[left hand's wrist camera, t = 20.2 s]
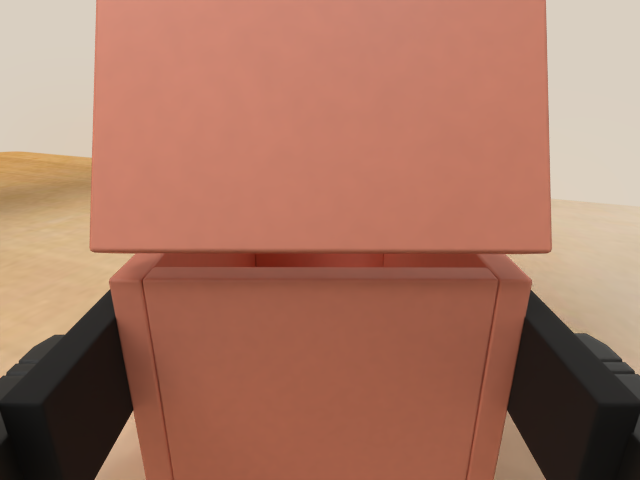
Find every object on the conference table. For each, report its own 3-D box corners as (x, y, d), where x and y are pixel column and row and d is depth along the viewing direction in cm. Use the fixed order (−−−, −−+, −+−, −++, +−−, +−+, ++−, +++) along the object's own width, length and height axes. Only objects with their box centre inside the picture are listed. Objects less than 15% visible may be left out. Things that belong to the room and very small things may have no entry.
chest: (247, 292, 29) (238, 152, 25) (391, 292, 29) (400, 153, 25) (160, 557, 13) (107, 279, 10) (479, 557, 13) (533, 279, 10)
